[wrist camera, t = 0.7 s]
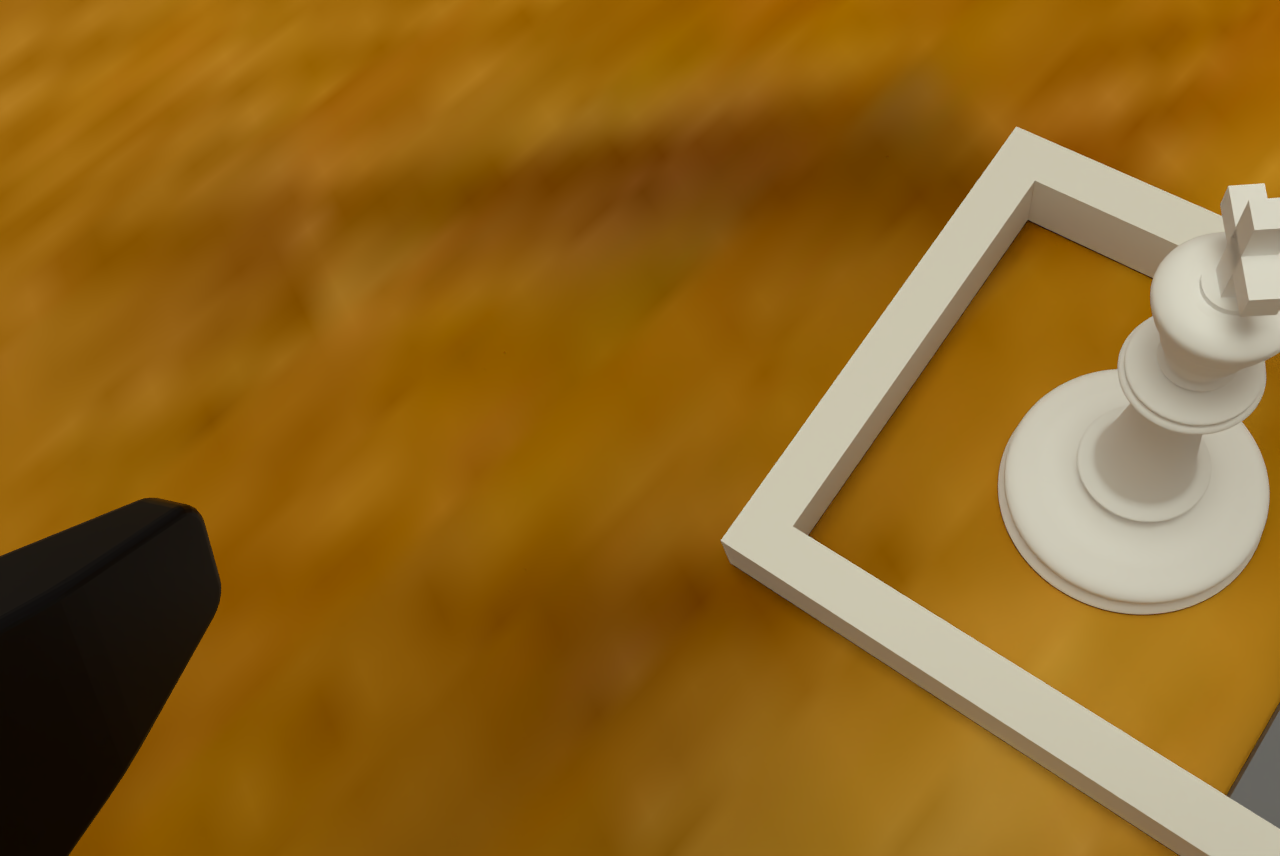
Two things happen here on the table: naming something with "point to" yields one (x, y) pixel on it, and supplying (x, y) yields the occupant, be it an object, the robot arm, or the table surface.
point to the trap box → (918, 639)
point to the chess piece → (1159, 434)
